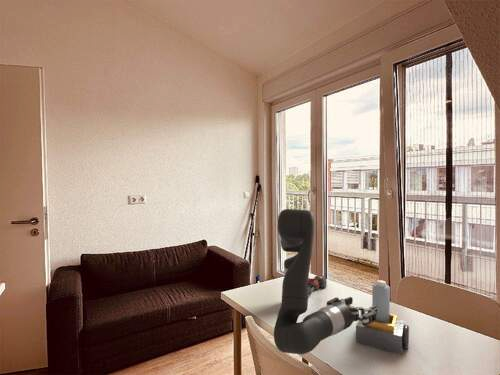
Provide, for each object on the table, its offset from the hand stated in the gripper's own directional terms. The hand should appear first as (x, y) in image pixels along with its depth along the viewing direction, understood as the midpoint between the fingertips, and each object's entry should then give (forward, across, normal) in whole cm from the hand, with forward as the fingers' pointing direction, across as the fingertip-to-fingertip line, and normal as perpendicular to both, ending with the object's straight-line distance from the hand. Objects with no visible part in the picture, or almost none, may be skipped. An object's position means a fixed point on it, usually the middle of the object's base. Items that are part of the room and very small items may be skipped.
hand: (363, 304), depth 96 cm
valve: (+29, +47, +16) cm, 58 cm away
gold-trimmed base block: (+11, 0, +16) cm, 19 cm away
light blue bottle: (+11, 0, +10) cm, 15 cm away
